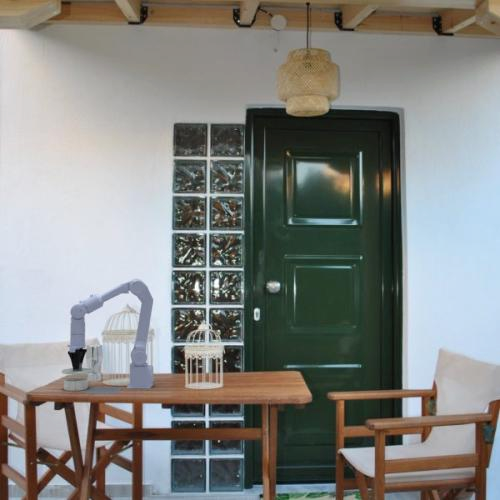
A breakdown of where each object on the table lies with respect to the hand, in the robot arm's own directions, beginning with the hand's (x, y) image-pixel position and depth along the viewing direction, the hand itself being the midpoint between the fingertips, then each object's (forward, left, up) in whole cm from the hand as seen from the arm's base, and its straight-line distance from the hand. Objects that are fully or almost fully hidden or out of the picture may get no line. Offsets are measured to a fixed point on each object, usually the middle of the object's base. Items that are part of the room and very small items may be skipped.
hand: (77, 368), depth 259 cm
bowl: (0, 0, -9) cm, 9 cm away
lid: (0, 0, -2) cm, 2 cm away
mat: (-12, +3, -8) cm, 15 cm away
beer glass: (-2, -19, -9) cm, 21 cm away
